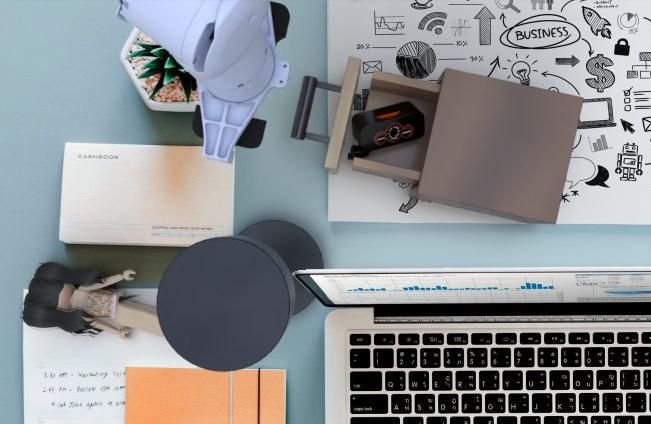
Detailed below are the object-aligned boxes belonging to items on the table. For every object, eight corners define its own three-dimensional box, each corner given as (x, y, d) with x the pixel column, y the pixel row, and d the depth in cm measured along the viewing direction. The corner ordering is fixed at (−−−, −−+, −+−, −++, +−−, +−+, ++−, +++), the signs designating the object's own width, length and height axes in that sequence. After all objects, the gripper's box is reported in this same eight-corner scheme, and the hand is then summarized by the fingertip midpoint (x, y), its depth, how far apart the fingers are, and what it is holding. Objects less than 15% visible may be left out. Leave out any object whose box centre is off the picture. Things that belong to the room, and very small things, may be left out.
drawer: (288, 163, 65) (282, 157, 59) (311, 63, 65) (307, 46, 59) (437, 196, 65) (447, 194, 58) (460, 95, 65) (472, 82, 58)
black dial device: (340, 115, 61) (352, 129, 58) (410, 97, 62) (424, 110, 60) (345, 157, 64) (356, 172, 61) (412, 139, 65) (425, 154, 62)
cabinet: (408, 196, 66) (417, 193, 58) (433, 86, 66) (445, 67, 58) (530, 224, 65) (556, 224, 57) (555, 112, 65) (584, 97, 57)
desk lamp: (238, 210, 66) (159, 203, 38) (333, 231, 66) (323, 240, 38) (217, 305, 66) (122, 367, 38) (311, 327, 66) (286, 406, 38)
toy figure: (184, 271, 67) (40, 255, 66) (170, 285, 60) (10, 267, 60) (179, 338, 67) (36, 322, 67) (164, 358, 61) (6, 341, 61)
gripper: (258, 165, 43) (279, 178, 57) (306, -45, 43) (315, 18, 57) (157, 143, 43) (202, 161, 57) (204, -67, 43) (238, 2, 57)
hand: (253, 89), depth 57 cm, fingers open, 6 cm apart
